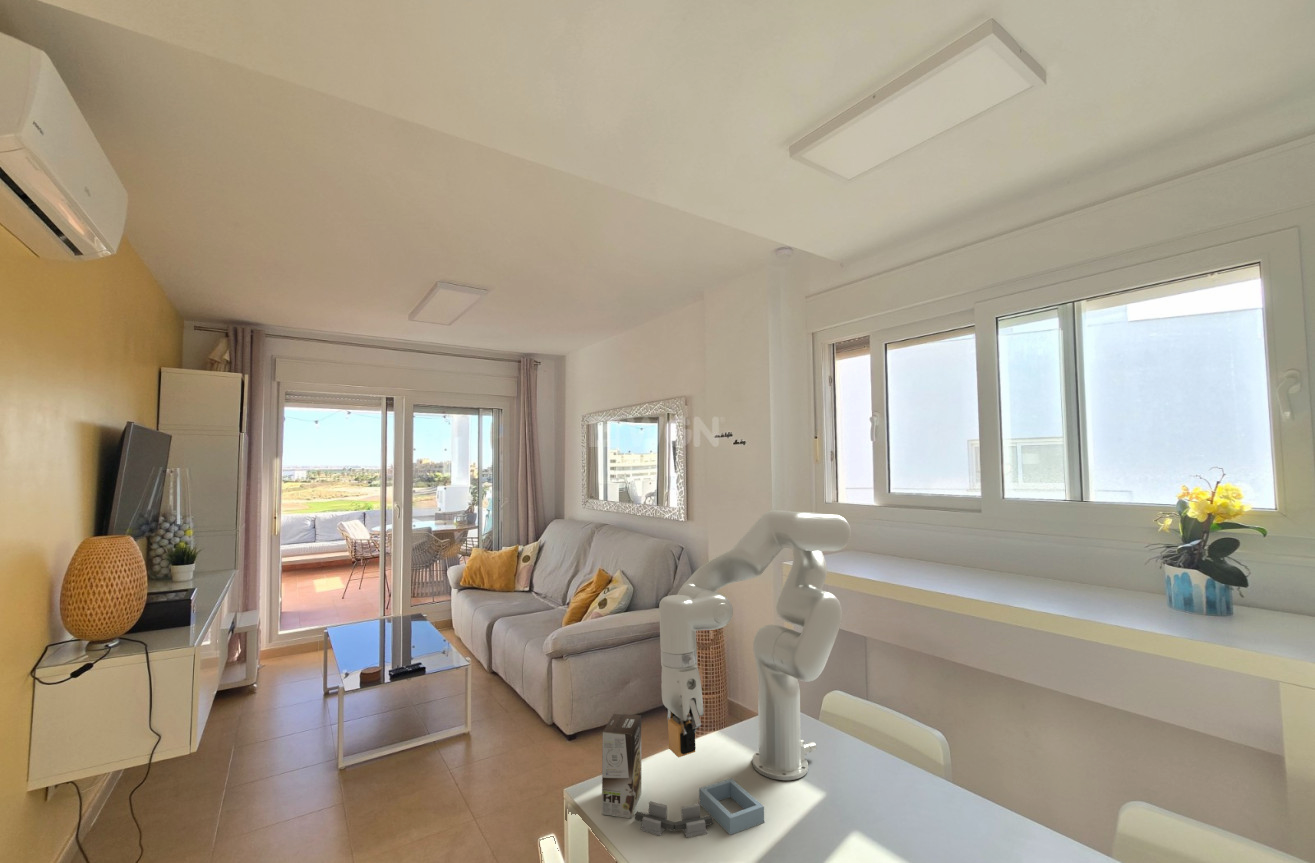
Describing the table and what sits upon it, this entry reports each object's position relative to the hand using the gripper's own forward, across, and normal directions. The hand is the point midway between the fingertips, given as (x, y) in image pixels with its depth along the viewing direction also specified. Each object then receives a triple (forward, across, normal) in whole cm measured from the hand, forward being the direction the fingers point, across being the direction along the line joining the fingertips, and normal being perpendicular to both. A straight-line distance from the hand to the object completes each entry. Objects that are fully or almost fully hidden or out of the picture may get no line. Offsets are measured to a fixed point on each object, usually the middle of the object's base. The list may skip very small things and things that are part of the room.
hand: (682, 745), depth 115 cm
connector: (+1, 0, 0) cm, 1 cm away
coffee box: (+11, +6, +11) cm, 17 cm away
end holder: (+12, -7, -7) cm, 15 cm away
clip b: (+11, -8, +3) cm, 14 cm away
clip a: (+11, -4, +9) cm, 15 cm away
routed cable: (+11, -5, +5) cm, 13 cm away
